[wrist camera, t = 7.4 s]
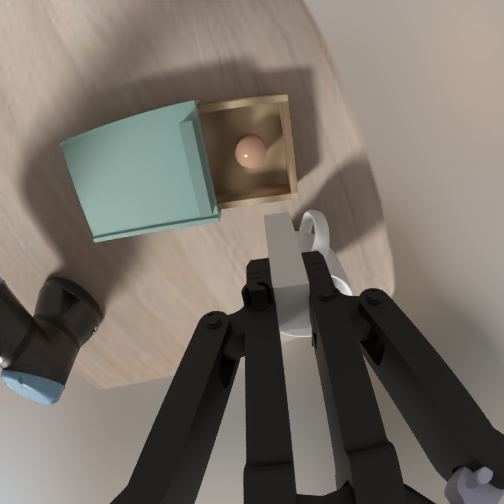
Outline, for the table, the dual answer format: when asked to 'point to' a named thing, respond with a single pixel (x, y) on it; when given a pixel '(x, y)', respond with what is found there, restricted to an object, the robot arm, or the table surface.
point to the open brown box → (224, 146)
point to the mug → (321, 244)
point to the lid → (143, 173)
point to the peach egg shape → (250, 150)
